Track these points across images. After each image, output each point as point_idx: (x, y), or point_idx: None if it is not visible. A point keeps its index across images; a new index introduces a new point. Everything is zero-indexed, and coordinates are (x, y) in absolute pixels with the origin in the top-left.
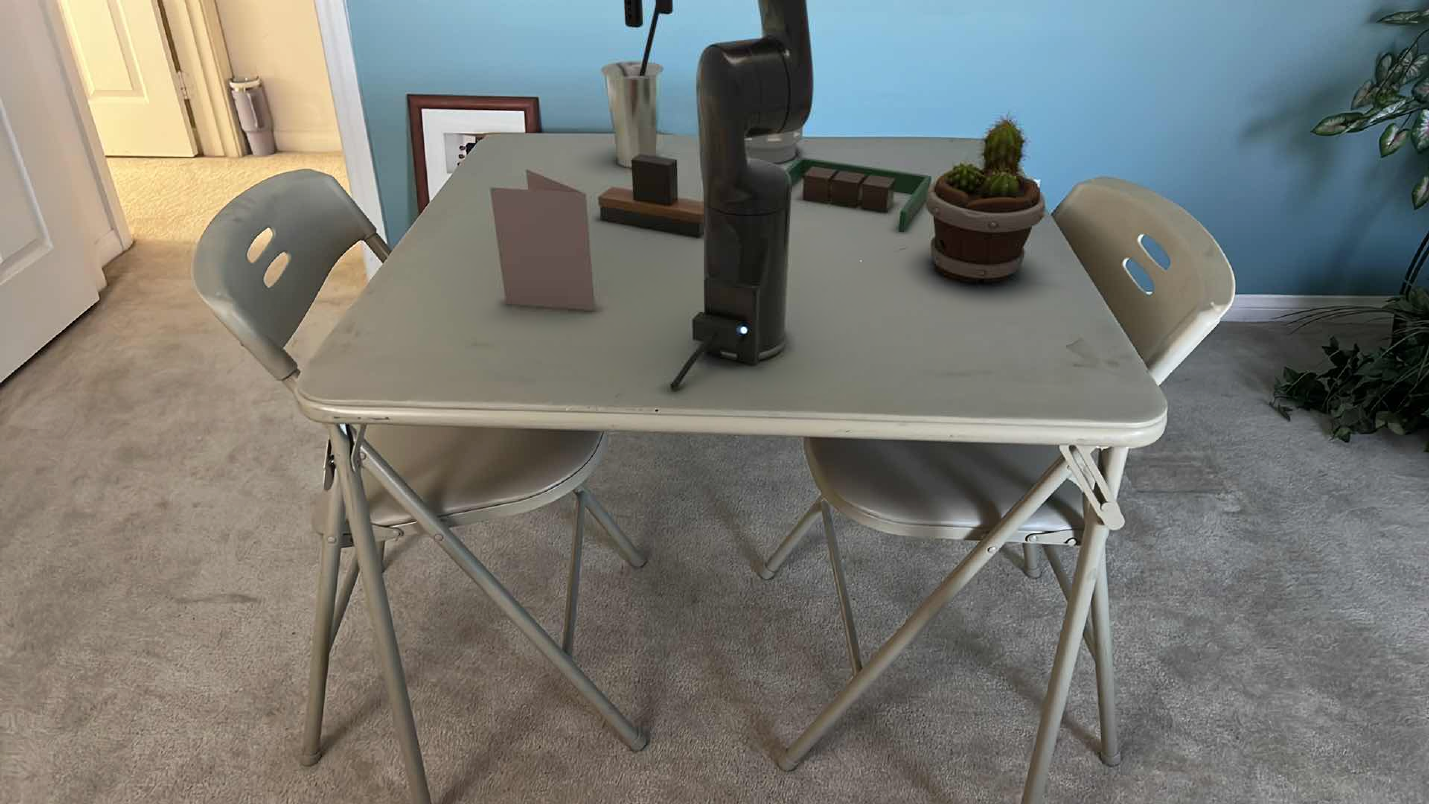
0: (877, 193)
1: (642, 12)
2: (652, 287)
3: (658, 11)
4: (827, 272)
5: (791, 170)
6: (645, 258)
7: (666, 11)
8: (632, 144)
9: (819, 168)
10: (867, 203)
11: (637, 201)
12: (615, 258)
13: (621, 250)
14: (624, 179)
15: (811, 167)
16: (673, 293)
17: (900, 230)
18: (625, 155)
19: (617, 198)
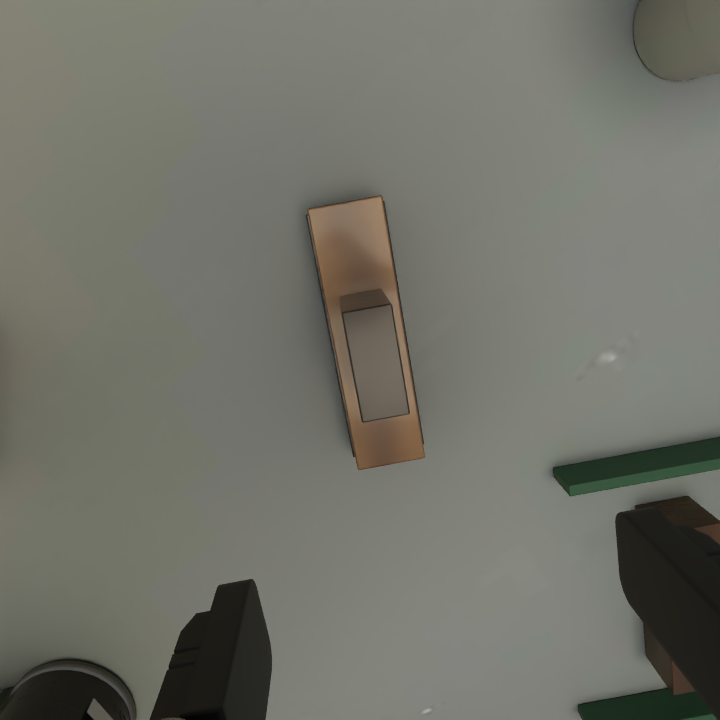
0: (663, 665)
1: (264, 718)
2: (123, 501)
3: (621, 526)
4: (356, 691)
5: (710, 469)
6: (210, 418)
7: (625, 579)
8: (668, 36)
9: (716, 541)
10: (650, 633)
11: (337, 311)
12: (173, 371)
13: (210, 356)
14: (552, 86)
15: (714, 525)
16: (129, 543)
17: (578, 708)
18: (647, 19)
19: (325, 258)
